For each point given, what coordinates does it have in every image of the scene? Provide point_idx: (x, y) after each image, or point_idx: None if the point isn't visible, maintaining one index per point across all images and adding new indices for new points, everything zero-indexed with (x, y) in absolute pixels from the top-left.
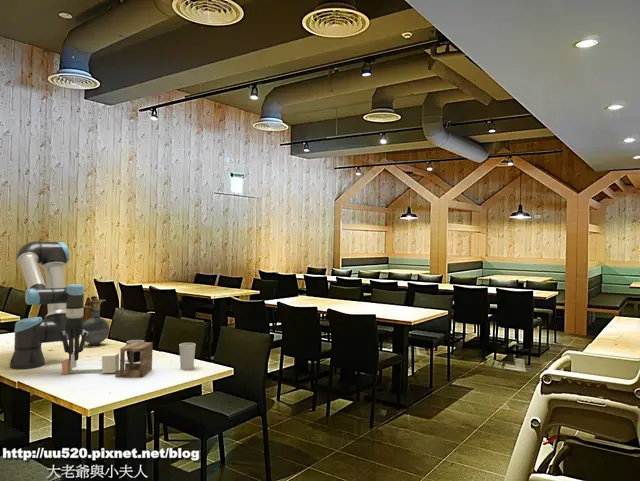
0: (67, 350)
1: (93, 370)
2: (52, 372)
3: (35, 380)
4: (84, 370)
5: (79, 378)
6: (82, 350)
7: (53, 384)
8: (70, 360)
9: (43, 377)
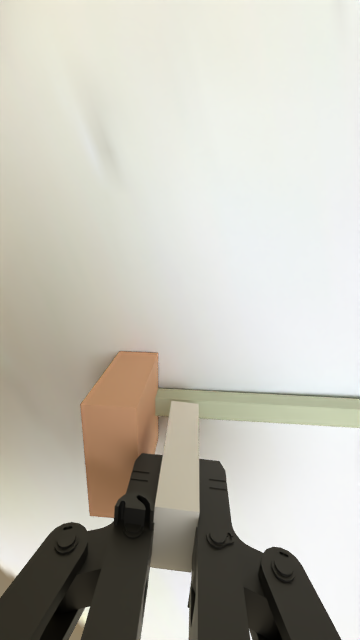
0: (81, 606)
1: (338, 423)
2: (29, 367)
3: (31, 535)
4: (269, 420)
5: (265, 523)
6: (299, 579)
7: (163, 607)
8: (139, 440)
9: (40, 483)
